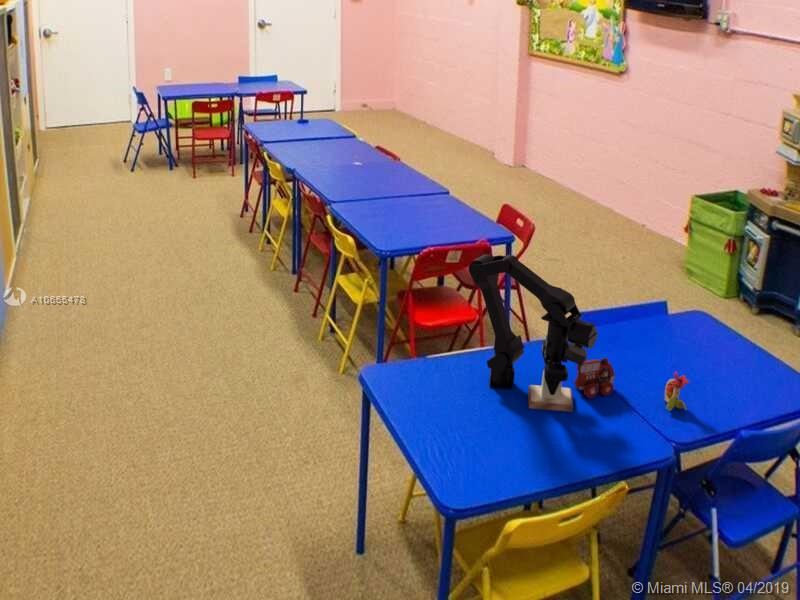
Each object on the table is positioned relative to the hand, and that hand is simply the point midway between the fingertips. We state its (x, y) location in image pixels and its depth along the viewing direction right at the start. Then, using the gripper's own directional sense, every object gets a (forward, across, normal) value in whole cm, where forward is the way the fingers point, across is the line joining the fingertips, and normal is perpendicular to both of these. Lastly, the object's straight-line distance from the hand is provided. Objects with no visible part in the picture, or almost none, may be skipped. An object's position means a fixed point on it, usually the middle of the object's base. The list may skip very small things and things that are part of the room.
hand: (551, 386), depth 237 cm
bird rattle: (+5, +3, -34) cm, 35 cm away
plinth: (+5, 0, 0) cm, 5 cm away
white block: (+2, 0, 0) cm, 3 cm away
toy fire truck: (+5, +8, -13) cm, 16 cm away
